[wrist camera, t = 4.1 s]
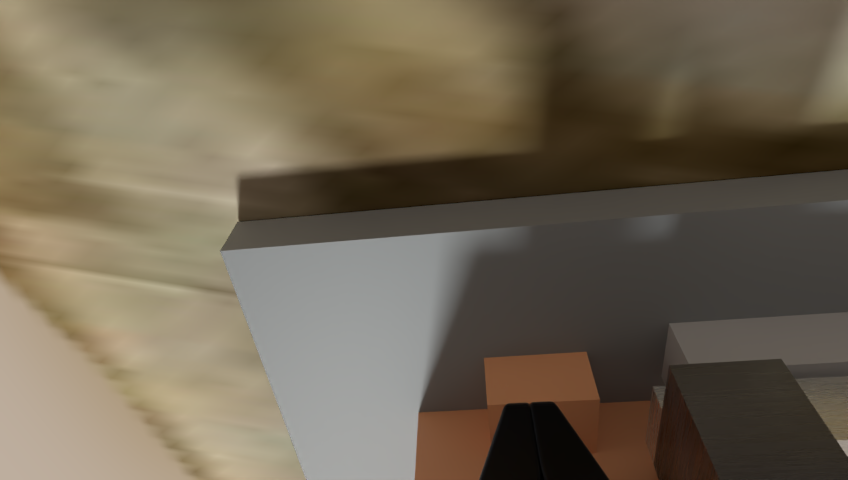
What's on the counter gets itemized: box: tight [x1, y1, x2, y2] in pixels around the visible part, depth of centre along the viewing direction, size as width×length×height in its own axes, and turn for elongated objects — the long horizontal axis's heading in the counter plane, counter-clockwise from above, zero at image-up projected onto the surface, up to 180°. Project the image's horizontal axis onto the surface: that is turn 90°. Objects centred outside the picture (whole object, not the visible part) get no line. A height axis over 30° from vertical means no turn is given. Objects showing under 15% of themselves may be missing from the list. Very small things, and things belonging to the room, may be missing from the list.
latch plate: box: [220, 169, 848, 480], centre depth 13 cm, size 16×13×2 cm
